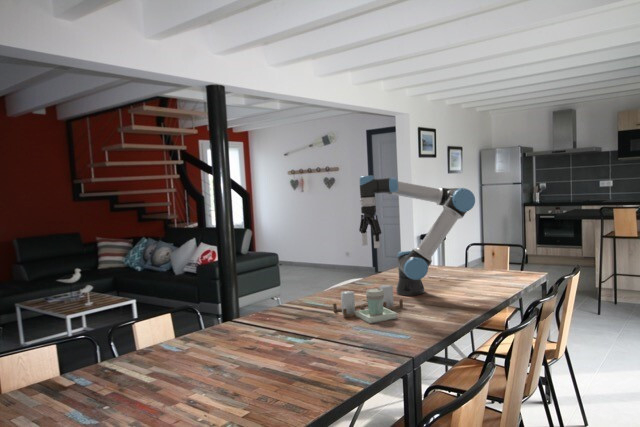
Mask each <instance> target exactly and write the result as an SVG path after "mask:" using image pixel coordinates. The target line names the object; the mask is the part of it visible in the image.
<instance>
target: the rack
mask: <svg viewBox="0 0 640 427" xmlns="http://www.w3.org/2000/svg"><path fill="white" fill-rule="evenodd" d="M398 301H399V302H398V303H399V305H396V306H395V305H394V307H388V308H387V306H386V302H383V307H385V308H387V309H389V310H391V309H392V310H397V309H402V308H404V303H403V302H404V300H403V299H402V298H399V300H398ZM366 306H367V307H368V303H366V304H360V305H355V309H360V310H364V309H365V307H366ZM332 307H333V313H337V312H342V307H341V308H338V307H337V303H336V302H334V303H332ZM360 307H361V308H360ZM396 308H397V309H396ZM392 310H391V311H392ZM342 315H343V318H344V319H346V318H351V317H356V312H355V313H354V314H348V315H347V310H346V309H343V314H342Z"/></svg>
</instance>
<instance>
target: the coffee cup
mask: <svg viewBox="0 0 640 427" xmlns="http://www.w3.org/2000/svg"><path fill="white" fill-rule="evenodd" d="M365 296H366V300H367V301H366V302H367V304H368V306H367V309H369V314H370V317H373V316H379V315H383V299H384V292H383V290H382V289H380V288H375V287H374V288H369V289H366V291H365Z"/></svg>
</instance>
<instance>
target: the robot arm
mask: <svg viewBox="0 0 640 427" xmlns="http://www.w3.org/2000/svg"><path fill="white" fill-rule="evenodd" d="M359 193H360V194H359V195H360V200H359V201H360V205H361V206H360V210H361V211H360V212H361V214H360V221H359V222H360V224H359V229H358V230H359V232H360V233H361V243H362V246H368V231H367V230H368V227H369V225H370V227H371V230H372V232H373V248H374V249H378V248H379V249H380V248H381V247H380V246H381V244H380V235H381V234H382V230H381V227H380V224H379V219H378V215H377V214H376V212H377V207H376V194H388V195H393V196H398V197H404V198H409V199H410V198H411V199H416V200H421V201H426V202H429V203H430V202H431V203H435V204H436V205H437V206H442V209H443V210H442V212H441V213H440V214H439V216H438V217H437V218H436V221H434V223H433V224H432V226H431V228H430V229H429V230H428V232H427V233H426V235H425V236H424V238H423V239H422V241H421V242H420V244H419V245H418V246H417V247H416V248H412V250H407V251H406V250H405V251H398V253H397V265H398V267H397V268H398V269H397V270H398V282H397V285H396V294H397V295H399V296H418V295H422V294H424V293H425V287H424V284H423V281H422V279H423V278H425V277H426V275H428V271H429V266H430V265H431V264H432V262H433V260H432V257H433V255H434V254H435V253H436V252H437V250H438V249H439V247H440V246H441V244H442V243H443V241H444V240H445V238H446V237H447V235H448V234H449V233H450V232H451V230H452V228H453V227H454V225H455V224H456V223H457V221H458V220H460V219H463V218H464V216H465V215H466V214H467V213H468V212H469V211H470V210H472V209H473V208H474V206H475V205H476V196H475V194H474V193H473V191H471V190H470V189H468V188H465V187H460V188H459V187H455V188H447V187H439V188H435V187H431V186H425V185H421V184H420V185H419V184H415V183H414V184H413V183H410V182H409V183H408V182H404V181H403V182H402V181H398V179H397V177H387V178H386V177H385V178H375V177H374V175H362V176H359Z"/></svg>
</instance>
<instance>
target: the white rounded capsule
mask: <svg viewBox="0 0 640 427" xmlns="http://www.w3.org/2000/svg"><path fill="white" fill-rule="evenodd" d="M340 302H341V308H342V311H341V314H342V315H343V309H346V310H347V315H348V314H354V313H356V308H355V306H356V301H355V292H354V291H352V290H345V291H341V292H340Z"/></svg>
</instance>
